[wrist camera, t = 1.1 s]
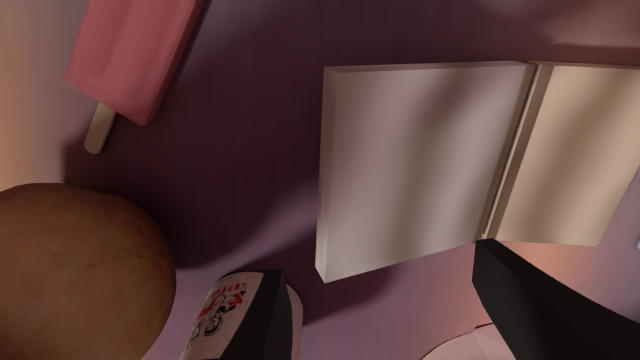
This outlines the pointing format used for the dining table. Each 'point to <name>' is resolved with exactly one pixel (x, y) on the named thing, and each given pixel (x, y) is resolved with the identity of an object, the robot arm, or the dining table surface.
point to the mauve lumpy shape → (474, 347)
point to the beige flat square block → (411, 158)
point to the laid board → (569, 155)
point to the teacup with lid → (232, 316)
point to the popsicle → (128, 58)
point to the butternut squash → (80, 275)
